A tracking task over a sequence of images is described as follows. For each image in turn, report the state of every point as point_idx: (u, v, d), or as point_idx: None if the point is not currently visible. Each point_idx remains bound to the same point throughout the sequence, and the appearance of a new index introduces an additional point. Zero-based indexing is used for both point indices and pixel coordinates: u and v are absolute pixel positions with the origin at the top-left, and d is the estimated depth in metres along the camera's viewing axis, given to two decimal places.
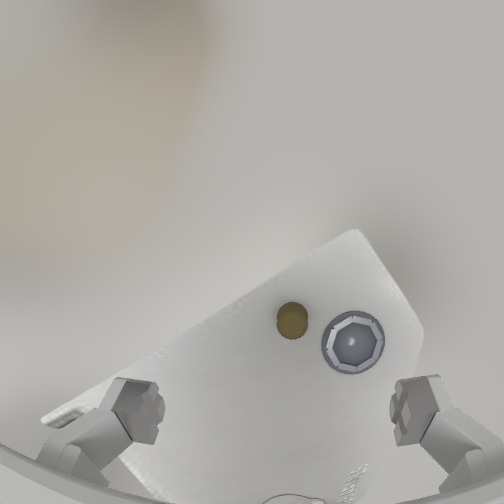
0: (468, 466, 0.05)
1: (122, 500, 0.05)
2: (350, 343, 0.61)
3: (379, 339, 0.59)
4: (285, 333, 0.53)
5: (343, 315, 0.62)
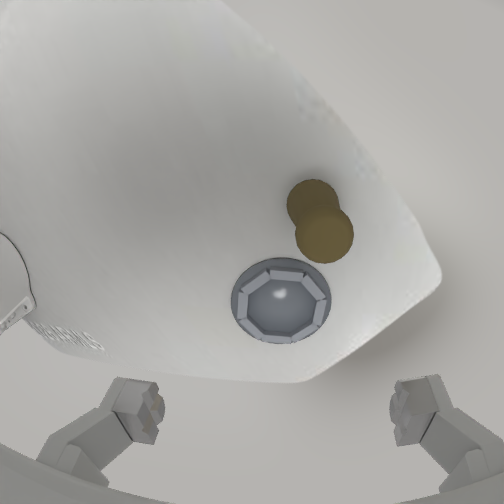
0: (468, 466, 0.05)
1: (122, 500, 0.05)
2: (280, 300, 0.41)
3: (292, 339, 0.43)
4: (310, 230, 0.27)
5: (324, 283, 0.40)
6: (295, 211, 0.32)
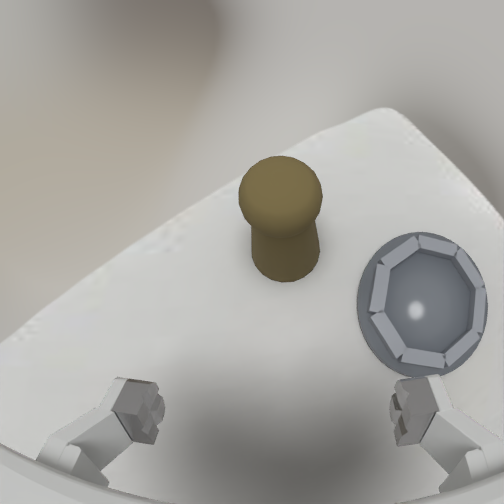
0: (468, 466, 0.05)
1: (122, 500, 0.05)
2: (421, 302, 0.25)
3: (479, 286, 0.23)
4: (259, 203, 0.18)
5: (397, 240, 0.27)
6: (270, 254, 0.24)
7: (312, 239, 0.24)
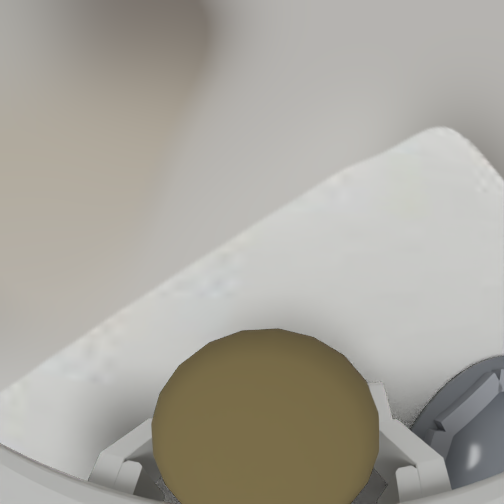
0: (397, 483, 0.06)
1: (122, 500, 0.05)
2: (483, 465, 0.11)
3: None
4: None
5: (466, 376, 0.13)
6: None
7: None
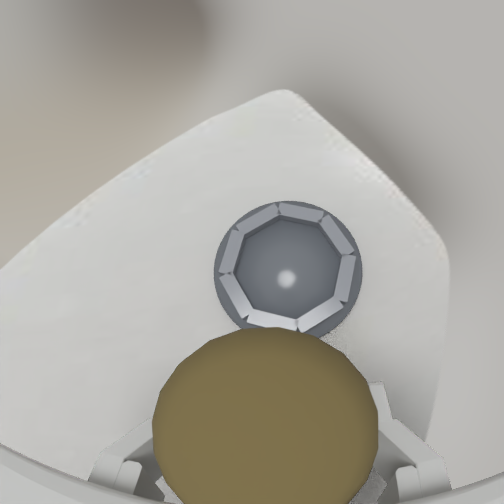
0: (397, 483, 0.06)
1: (122, 500, 0.05)
2: (279, 267, 0.28)
3: (346, 253, 0.27)
4: (199, 503, 0.05)
5: (260, 208, 0.30)
6: None
7: None
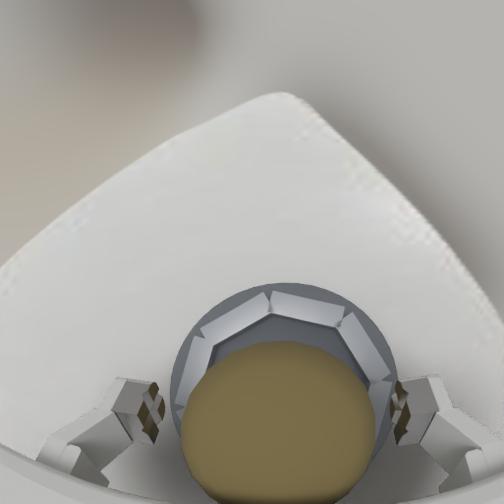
0: (468, 466, 0.05)
1: (122, 501, 0.05)
2: None
3: (378, 378, 0.15)
4: (223, 491, 0.06)
5: (242, 296, 0.19)
6: None
7: None
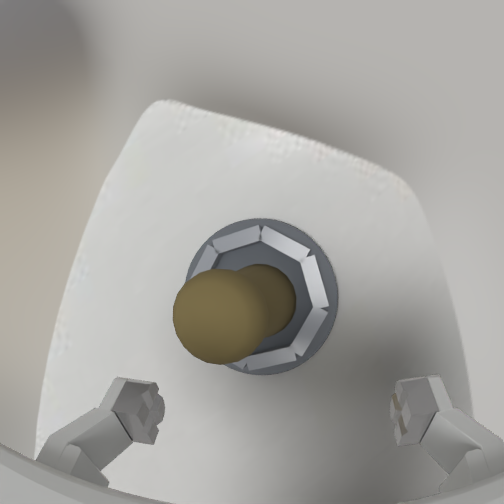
0: (468, 466, 0.05)
1: (122, 500, 0.05)
2: None
3: (303, 257, 0.25)
4: (204, 353, 0.16)
5: (199, 253, 0.28)
6: None
7: (278, 307, 0.21)
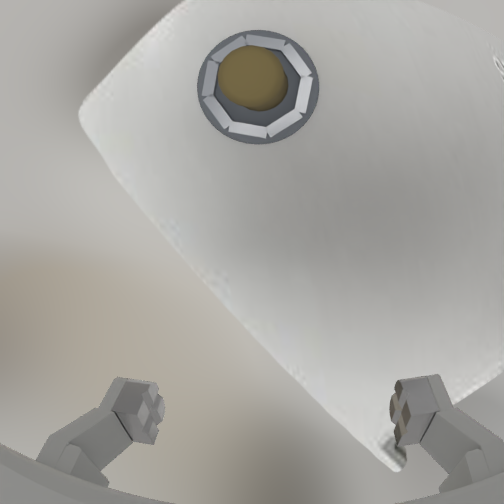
0: (468, 466, 0.05)
1: (122, 500, 0.05)
2: None
3: (244, 41, 0.28)
4: (267, 87, 0.22)
5: (205, 111, 0.33)
6: (280, 89, 0.27)
7: None
